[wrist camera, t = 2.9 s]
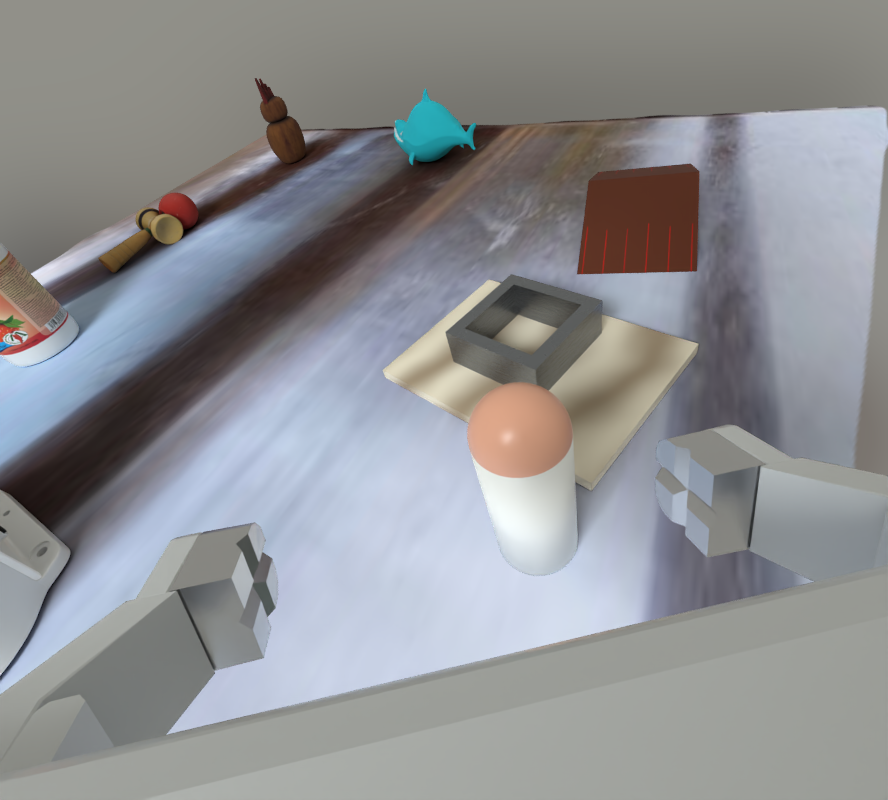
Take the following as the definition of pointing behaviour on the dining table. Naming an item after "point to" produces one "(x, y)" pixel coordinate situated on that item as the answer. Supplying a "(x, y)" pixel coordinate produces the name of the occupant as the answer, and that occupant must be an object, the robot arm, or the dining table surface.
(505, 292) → the cradle
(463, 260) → the dining table surface
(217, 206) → the dining table surface
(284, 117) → the wooden figurine
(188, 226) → the kendama
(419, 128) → the toy shark
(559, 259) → the dining table surface
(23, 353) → the fruit juice
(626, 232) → the roof
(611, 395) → the jig board
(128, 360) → the dining table surface
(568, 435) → the peach-domed white capsule
